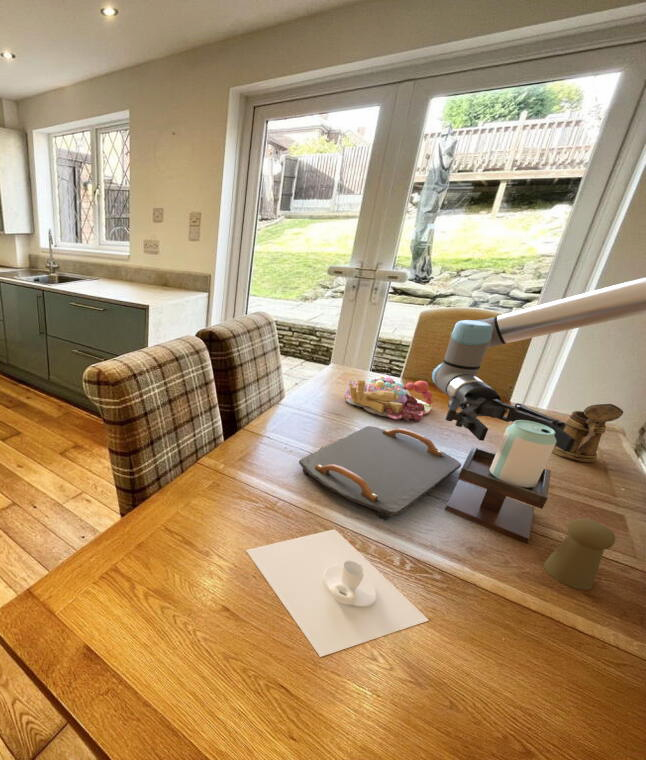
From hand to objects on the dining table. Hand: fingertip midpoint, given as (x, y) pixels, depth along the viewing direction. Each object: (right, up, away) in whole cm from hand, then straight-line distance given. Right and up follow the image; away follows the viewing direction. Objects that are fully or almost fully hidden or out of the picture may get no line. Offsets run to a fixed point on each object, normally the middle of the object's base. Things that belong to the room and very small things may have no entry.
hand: (526, 440), depth 75 cm
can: (+1, -9, +4) cm, 10 cm away
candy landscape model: (+9, +3, +57) cm, 58 cm away
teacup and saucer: (-42, -23, -8) cm, 48 cm away
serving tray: (-16, -11, +21) cm, 29 cm away
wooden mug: (+40, -9, +28) cm, 49 cm away
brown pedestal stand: (0, -16, +8) cm, 18 cm away
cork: (+1, -23, -7) cm, 24 cm away
